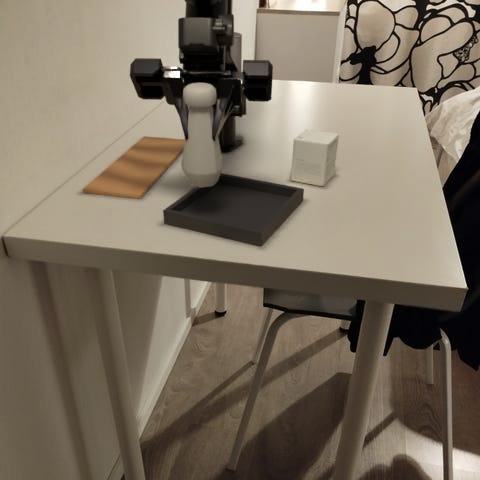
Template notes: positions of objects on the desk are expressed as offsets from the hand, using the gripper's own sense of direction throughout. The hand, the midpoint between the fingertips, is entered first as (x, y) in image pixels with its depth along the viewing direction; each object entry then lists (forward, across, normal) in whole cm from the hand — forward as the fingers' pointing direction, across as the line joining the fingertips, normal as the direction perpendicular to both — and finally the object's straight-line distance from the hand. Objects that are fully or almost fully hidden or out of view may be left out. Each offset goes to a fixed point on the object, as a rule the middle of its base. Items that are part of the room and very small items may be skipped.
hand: (200, 139), depth 69 cm
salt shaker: (+4, 0, +6) cm, 7 cm away
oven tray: (+6, +5, +11) cm, 14 cm away
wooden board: (-7, -14, +25) cm, 29 cm away
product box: (-4, +17, +22) cm, 28 cm away
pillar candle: (-44, -2, +63) cm, 77 cm away
